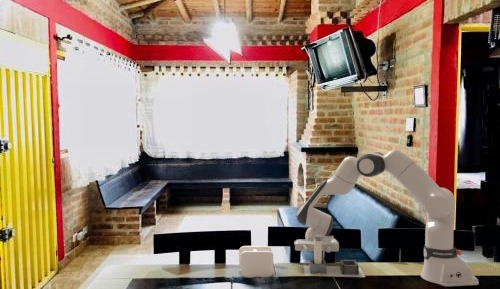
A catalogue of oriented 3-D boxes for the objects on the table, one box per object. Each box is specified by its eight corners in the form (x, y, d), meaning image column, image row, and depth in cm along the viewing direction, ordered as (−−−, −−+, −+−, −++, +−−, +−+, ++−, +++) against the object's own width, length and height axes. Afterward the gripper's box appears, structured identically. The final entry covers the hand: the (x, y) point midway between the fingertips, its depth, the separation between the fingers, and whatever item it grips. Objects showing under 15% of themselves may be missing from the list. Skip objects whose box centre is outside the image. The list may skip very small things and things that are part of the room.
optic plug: (320, 269, 188) (320, 234, 188) (321, 272, 184) (321, 237, 184) (314, 269, 188) (314, 234, 188) (314, 272, 184) (314, 236, 184)
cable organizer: (239, 278, 180) (239, 252, 180) (239, 269, 191) (239, 245, 190) (273, 277, 181) (273, 251, 180) (271, 269, 191) (271, 244, 191)
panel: (359, 269, 191) (359, 258, 191) (365, 279, 178) (365, 268, 178) (303, 267, 193) (303, 257, 193) (305, 277, 180) (305, 266, 180)
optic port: (324, 267, 190) (324, 259, 190) (326, 274, 182) (326, 265, 182) (309, 267, 191) (309, 259, 190) (310, 273, 183) (310, 264, 182)
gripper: (293, 235, 200) (294, 243, 186) (336, 235, 198) (340, 244, 184) (293, 247, 200) (294, 256, 186) (336, 248, 198) (340, 258, 184)
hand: (317, 250), depth 185 cm, fingers open, 8 cm apart
